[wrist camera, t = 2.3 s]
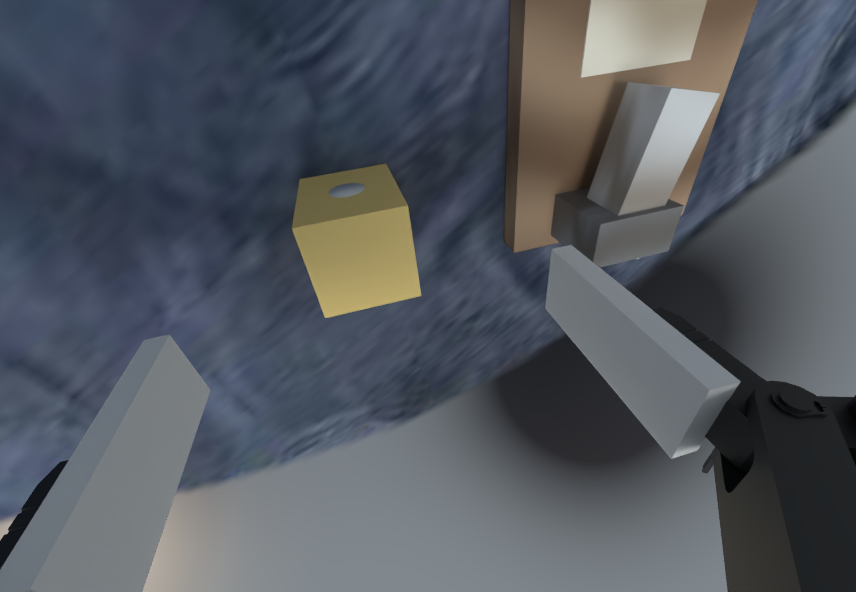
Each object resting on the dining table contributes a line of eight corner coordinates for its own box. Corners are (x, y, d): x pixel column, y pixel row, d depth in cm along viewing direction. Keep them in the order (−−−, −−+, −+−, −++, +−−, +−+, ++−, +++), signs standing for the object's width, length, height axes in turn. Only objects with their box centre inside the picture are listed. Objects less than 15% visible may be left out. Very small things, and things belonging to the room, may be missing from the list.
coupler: (298, 178, 18) (290, 227, 13) (386, 162, 19) (408, 204, 14) (323, 255, 21) (324, 319, 16) (400, 239, 21) (422, 296, 17)
